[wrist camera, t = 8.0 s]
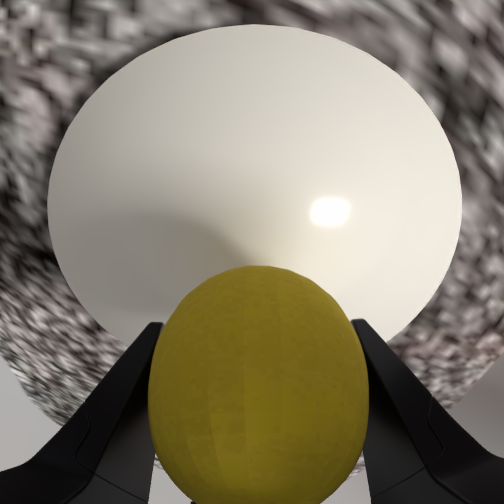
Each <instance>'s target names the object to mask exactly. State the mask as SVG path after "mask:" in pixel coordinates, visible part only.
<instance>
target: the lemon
mask: <svg viewBox="0 0 504 504" xmlns="http://www.w3.org/2000/svg"><path fill="white" fill-rule="evenodd" d="M368 414H369V384H368V373H367V367H366V361H365V357H364V353H363V350H362V346H361V344H360V341H359V339H358V336H357V334H356V332H355V330H354V328H353V326H352V325H351V323H350V321H349V320H348V318H347V316H346V315H345V313H344V311H343V310H342V308H341V307H340V306H339V304H338V303H337V301H336V300H335V299H334V298H333V297H332V296H331V295H330V294H328V293H327V292H326V291H325V290H324V289H322V288H321V287H320V286H319V285H317V284H316V283H315V282H313V281H312V280H310V279H309V278H306V277H304V276H302V275H300V274H297V273H295V272H293V271H290V270H287V269H283V268H278V267H273V266H244V267H239V268H234V269H230V270H227V271H225V272H222V273H220V274H217V275H215V276H213V277H210V278H208V279H207V280H205V281H204V282H203V283H201V284H200V285H199V286H197V287H196V288H195V289H193V290H192V291H191V292H189V293H188V294H187V295H186V296H185V297H184V298H183V299H182V300H181V302H180V303H179V305H178V306H177V307H176V309H175V310H174V312H173V313H172V314H171V316H170V317H169V319H168V321H167V322H166V324H165V326H164V328H163V330H162V332H161V334H160V336H159V339H158V341H157V344H156V347H155V351H154V355H153V359H152V365H151V371H150V378H149V385H148V417H149V427H150V433H151V438H152V442H153V445H154V449H155V452H156V455H157V457H158V459H159V461H160V463H161V465H162V467H163V469H164V470H165V471H166V473H167V474H168V476H169V477H170V478H171V480H172V481H173V482H174V484H175V485H176V486H177V487H178V488H179V489H180V490H181V491H182V492H183V493H184V494H185V495H186V496H187V497H188V498H190V499H191V500H192V501H194V502H195V503H196V504H320V503H322V502H323V501H324V500H325V499H326V498H328V497H329V496H330V495H332V494H333V493H334V492H335V491H336V490H337V489H338V488H339V487H340V485H341V484H342V483H343V482H344V481H345V480H346V479H347V477H348V476H349V475H350V473H351V472H352V470H353V469H354V467H355V466H356V463H357V461H358V459H359V457H360V455H361V453H362V449H363V446H364V442H365V439H366V432H367V426H368Z"/></svg>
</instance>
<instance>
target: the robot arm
mask: <svg viewBox="0 0 504 504" xmlns="http://www.w3.org/2000/svg"><path fill="white" fill-rule="evenodd" d="M350 323H351V325H352V326H353V328H354V330H355V332H356V334H357V336H358V339H359V341H360V344H361V346H362V350H363V353H364V357H365V361H366V367H367V373H368V384H369V414H368V426H367V432H366V439H365V442H364V446H363V449H362V450H363V455H364V461H365V467H366V472H367V478H368V484H369V491H370V497H371V504H504V458H501V457H498V456H496V455H494V454H491V453H490V452H489V451H487V450H486V449H485V448H483V447H482V446H481V445H480V444H479V443H478V442H477V441H476V440H475V439H474V438H473V437H472V436H471V435H470V434H469V433H467V432H466V431H465V430H464V429H463V428H462V427H461V426H460V425H459V424H458V423H457V422H456V421H455V420H454V419H453V418H452V417H451V416H450V415H449V414H448V413H447V411H446V410H445V409H444V408H443V407H442V406H441V405H440V404H439V402H438V401H437V400H436V399H435V398H434V397H432V394H431V393H430V392H429V391H428V390H427V389H426V387H425V386H424V385H423V384H422V383H421V382H420V380H419V379H418V378H417V377H416V376H415V375H414V374H413V372H412V371H411V370H410V369H409V368H408V367H407V366H406V365H405V363H404V362H403V361H402V360H401V359H400V358H399V357H398V355H397V354H396V353H395V352H394V351H393V350H392V349H391V348H390V347H389V345H388V344H387V343H386V342H385V341H384V340H383V339H382V338H381V336H380V335H379V334H378V333H377V332H376V331H375V330H374V329H373V328H372V327H371V325H370V324H369V323H368V322H367V321H366V320H365V319H363V318H359V319H352V320H351V321H350ZM164 326H165V325H164V323H163V322H150V323H149V324H148V325H147V326H146V327H145V328H144V330H143V331H142V332H141V333H140V334H139V336H138V337H137V338H136V339H135V340H134V341H133V343H132V344H131V345H130V346H129V347H128V349H127V350H126V351H125V352H124V353H123V355H122V356H121V357H120V358H119V359H118V361H117V362H116V363H115V364H114V366H113V367H112V368H111V369H110V370H109V372H108V373H107V374H106V375H105V377H104V378H103V379H102V380H101V381H100V383H99V384H98V385H97V386H96V388H95V389H94V390H93V391H92V392H91V394H90V395H89V396H88V397H87V399H86V400H85V403H83V404H82V405H81V406H80V407H79V409H78V410H77V411H76V412H75V413H74V415H73V416H72V417H71V418H70V419H69V420H68V422H67V423H66V424H65V425H64V426H63V427H62V428H61V429H60V430H59V431H58V433H56V434H55V435H54V437H52V438H51V440H50V441H48V442H47V443H46V444H45V445H44V446H43V447H42V448H41V450H39V452H37V453H36V455H34V456H33V457H32V458H31V459H30V460H29V461H27V462H25V463H24V464H22V465H20V466H17V467H14V468H11V469H7V470H4V471H1V472H0V504H148V503H147V502H148V499H149V492H150V485H151V478H152V471H153V465H154V458H155V449H154V445H153V442H152V438H151V433H150V427H149V417H148V385H149V378H150V371H151V365H152V359H153V355H154V351H155V347H156V344H157V341H158V339H159V336H160V334H161V332H162V330H163V328H164ZM191 504H196V503H195V502H194V501H192V502H191Z"/></svg>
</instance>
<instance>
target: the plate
mask: <svg viewBox="0 0 504 504" xmlns="http://www.w3.org/2000/svg"><path fill="white" fill-rule="evenodd" d="M47 210H48V226H49V232H50V237H51V241H52V246H53V250H54V253H55V256H56V259H57V261H58V264H59V267H60V269H61V271H62V273H63V275H64V277H65V279H66V281H67V283H68V285H69V287H70V289H71V290H72V291H73V293H74V294H75V296H76V297H77V299H78V300H79V302H80V303H81V304H82V306H83V307H84V308H85V309H86V310H87V311H88V313H89V314H90V315H91V316H92V317H93V318H94V319H95V320H96V321H97V322H98V323H99V324H100V325H101V326H102V327H103V328H104V329H105V330H107V331H108V332H109V333H110V334H111V335H112V336H114V337H115V338H117V339H118V340H119V341H121V342H122V343H123V344H125V345H126V346H128V347H129V346H130V345H131V344H132V343H133V341H134V340H135V339H136V338H137V337H138V336H139V334H140V333H141V332H142V331H143V330H144V328H145V327H146V326H147V325H148V324H149V323H150V322H163V323H164V325H165V324H166V322H167V321H168V319H169V317H170V316H171V314H172V313H173V312H174V310H175V309H176V307H177V306H178V305H179V303H180V302H181V300H182V299H183V298H184V297H185V296H186V295H187V294H188V293H189V292H191V291H192V290H193V289H195V288H196V287H197V286H199V285H200V284H201V283H203V282H204V281H205V280H207V279H208V278H210V277H213V276H215V275H217V274H220V273H222V272H225V271H227V270H230V269H234V268H239V267H244V266H273V267H278V268H283V269H287V270H290V271H293V272H295V273H297V274H300V275H302V276H304V277H306V278H309V279H310V280H312V281H313V282H315V283H316V284H317V285H319V286H320V287H321V288H322V289H324V290H325V291H326V292H327V293H328V294H330V295H331V296H332V297H333V298H334V299H335V300H336V301H337V303H338V304H339V306H340V307H341V308H342V310H343V311H344V313H345V315H346V316H347V318H348V320H349V321H351V320H352V319H359V318H363V319H365V320H366V321H367V322H368V323H369V324H370V325H371V327H372V328H373V329H374V330H375V331H376V332H377V333H378V334H379V335H380V336H381V338H382V339H383V340H384V341H385V342H387V341H388V340H390V339H391V338H392V337H393V336H395V335H396V334H397V333H399V332H400V331H401V330H402V329H403V328H404V327H405V326H407V325H408V324H409V323H410V322H411V321H412V320H413V319H414V318H415V317H416V316H417V315H418V314H419V312H420V311H421V310H422V309H423V308H424V306H425V305H426V304H427V303H428V302H429V300H430V299H431V297H432V296H433V294H434V293H435V291H436V290H437V288H438V287H439V285H440V284H441V282H442V280H443V278H444V276H445V274H446V272H447V270H448V268H449V265H450V263H451V260H452V257H453V254H454V251H455V248H456V245H457V241H458V236H459V231H460V225H461V214H462V193H461V185H460V177H459V172H458V168H457V164H456V161H455V157H454V154H453V151H452V148H451V146H450V143H449V141H448V139H447V137H446V135H445V133H444V131H443V129H442V127H441V125H440V123H439V121H438V120H437V118H436V117H435V115H434V114H433V113H432V111H431V110H430V108H429V107H428V106H427V104H426V103H425V102H424V100H423V99H422V97H421V96H420V95H419V94H418V93H417V92H416V91H415V90H414V89H413V88H412V87H411V86H410V85H409V84H408V83H407V82H406V81H405V80H404V79H402V78H401V77H400V76H399V75H398V74H397V73H396V72H394V71H393V70H392V69H390V68H389V67H387V66H386V65H384V64H383V63H382V62H380V61H379V60H377V59H376V58H374V57H373V56H371V55H370V54H368V53H366V52H364V51H362V50H360V49H358V48H355V47H353V46H351V45H349V44H347V43H344V42H342V41H340V40H338V39H335V38H333V37H329V36H326V35H322V34H318V33H315V32H311V31H307V30H303V29H298V28H293V27H283V26H271V25H255V24H253V25H240V26H229V27H220V28H212V29H208V30H205V31H201V32H197V33H194V34H190V35H187V36H183V37H180V38H177V39H173V40H171V41H169V42H167V43H165V44H163V45H160V46H158V47H156V48H154V49H152V50H150V51H148V52H146V53H144V54H142V55H140V56H138V57H137V58H135V59H134V60H133V61H131V62H130V63H128V64H127V65H126V66H124V67H123V68H121V69H120V70H119V71H117V72H116V73H115V74H113V75H112V76H111V77H109V78H108V79H107V80H106V81H105V82H104V83H103V84H102V85H101V86H100V87H99V88H98V89H97V90H96V91H95V92H94V94H93V95H92V96H91V97H90V98H89V99H88V100H87V101H86V102H85V104H84V105H83V106H82V108H81V109H80V111H79V112H78V114H77V115H76V117H75V118H74V120H73V121H72V123H71V124H70V126H69V127H68V129H67V131H66V133H65V136H64V138H63V140H62V142H61V144H60V147H59V149H58V151H57V154H56V157H55V161H54V164H53V168H52V172H51V176H50V181H49V190H48V200H47Z"/></svg>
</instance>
